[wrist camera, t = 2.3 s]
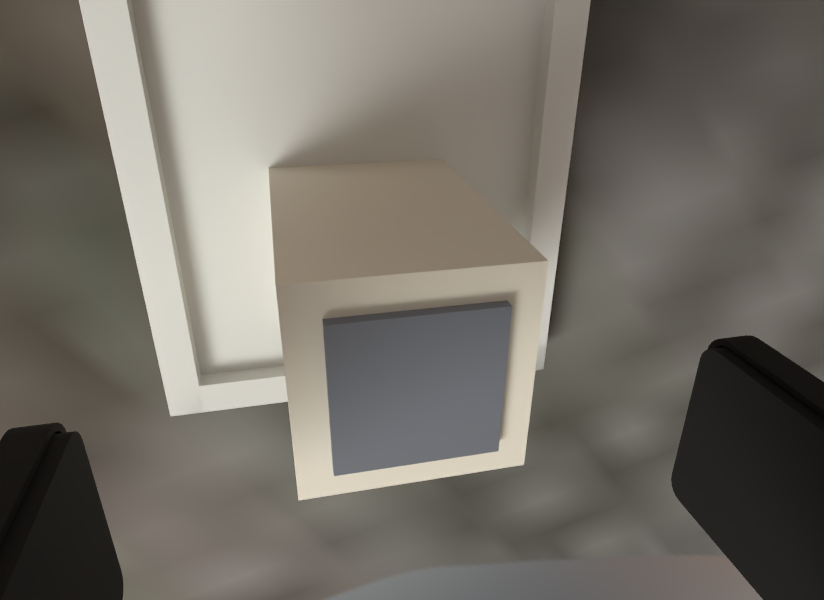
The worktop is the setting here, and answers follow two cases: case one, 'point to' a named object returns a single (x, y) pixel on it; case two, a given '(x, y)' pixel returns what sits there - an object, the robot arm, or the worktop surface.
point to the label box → (401, 324)
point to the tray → (313, 144)
